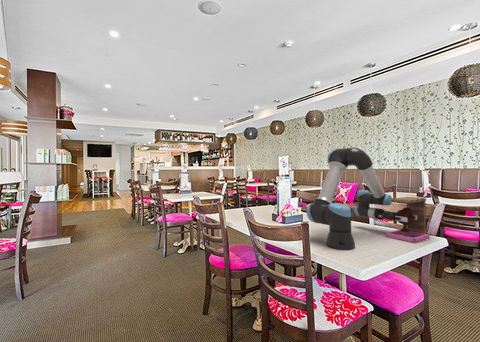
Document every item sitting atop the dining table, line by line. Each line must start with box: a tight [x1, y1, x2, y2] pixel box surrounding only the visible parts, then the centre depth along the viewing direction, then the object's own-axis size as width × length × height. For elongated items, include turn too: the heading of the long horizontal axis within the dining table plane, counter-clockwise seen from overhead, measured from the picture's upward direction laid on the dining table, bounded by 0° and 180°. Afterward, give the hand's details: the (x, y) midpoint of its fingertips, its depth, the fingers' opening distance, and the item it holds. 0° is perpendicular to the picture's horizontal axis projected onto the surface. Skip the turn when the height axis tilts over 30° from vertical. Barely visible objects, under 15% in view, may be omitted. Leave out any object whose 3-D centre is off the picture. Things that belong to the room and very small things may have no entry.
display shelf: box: [391, 196, 427, 234], centre depth 151 cm, size 20×11×24 cm, turn 119°
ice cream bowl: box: [395, 207, 415, 232], centre depth 152 cm, size 11×11×15 cm
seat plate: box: [384, 228, 431, 244], centre depth 151 cm, size 17×17×2 cm
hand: (412, 218), depth 148 cm, fingers closed on ice cream bowl, 11 cm apart
